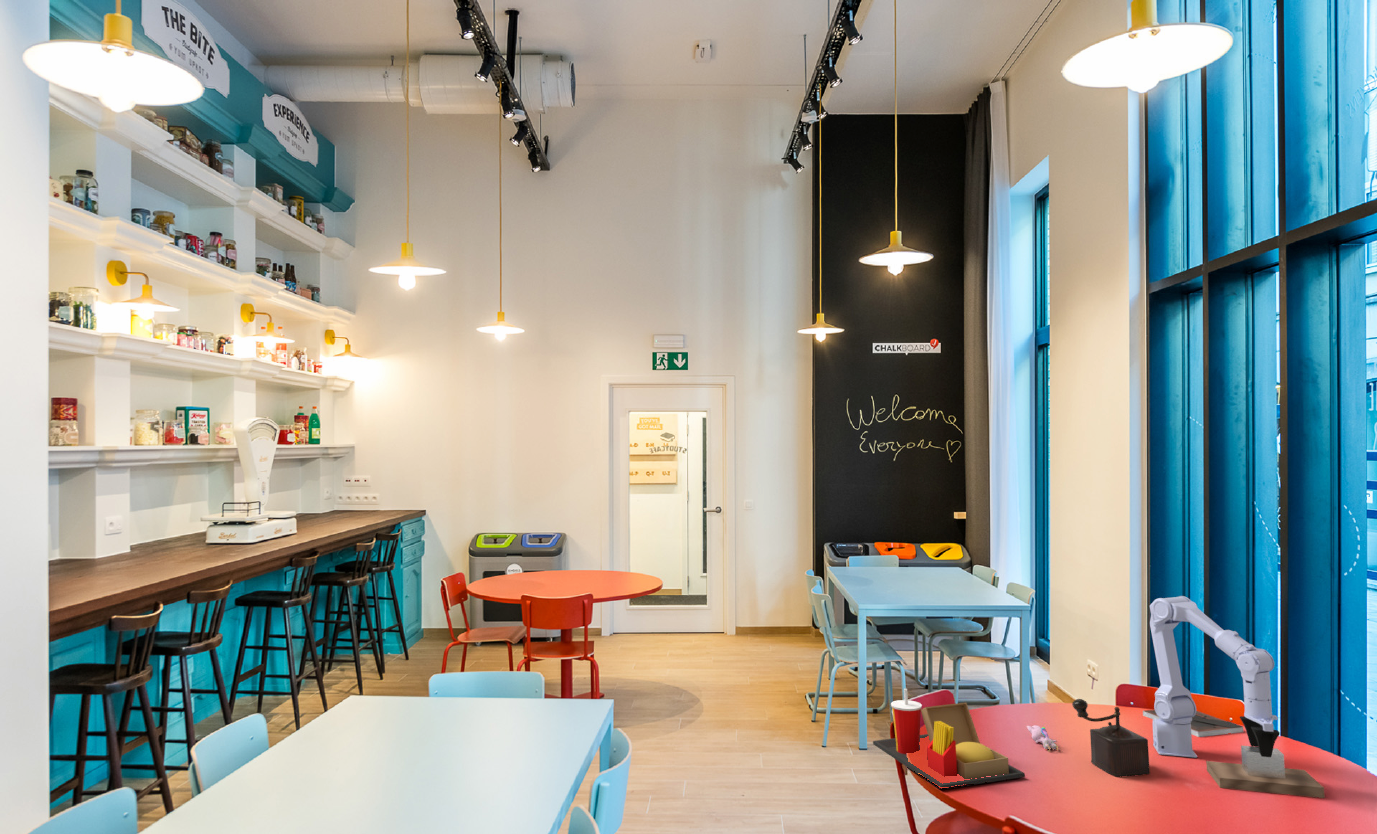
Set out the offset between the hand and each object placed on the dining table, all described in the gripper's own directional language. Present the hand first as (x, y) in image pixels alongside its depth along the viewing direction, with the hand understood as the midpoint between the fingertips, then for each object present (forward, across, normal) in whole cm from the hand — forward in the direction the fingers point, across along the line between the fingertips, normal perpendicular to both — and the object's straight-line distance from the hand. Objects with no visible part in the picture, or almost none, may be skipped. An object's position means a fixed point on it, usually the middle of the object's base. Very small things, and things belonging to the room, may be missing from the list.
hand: (1260, 751), depth 203 cm
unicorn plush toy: (+9, +16, +51) cm, 54 cm away
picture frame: (+9, +48, +5) cm, 50 cm away
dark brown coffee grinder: (+8, 0, +35) cm, 36 cm away
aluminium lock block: (+6, 0, 0) cm, 6 cm away
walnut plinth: (+8, 0, 0) cm, 8 cm away
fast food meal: (+9, -7, +78) cm, 79 cm away
